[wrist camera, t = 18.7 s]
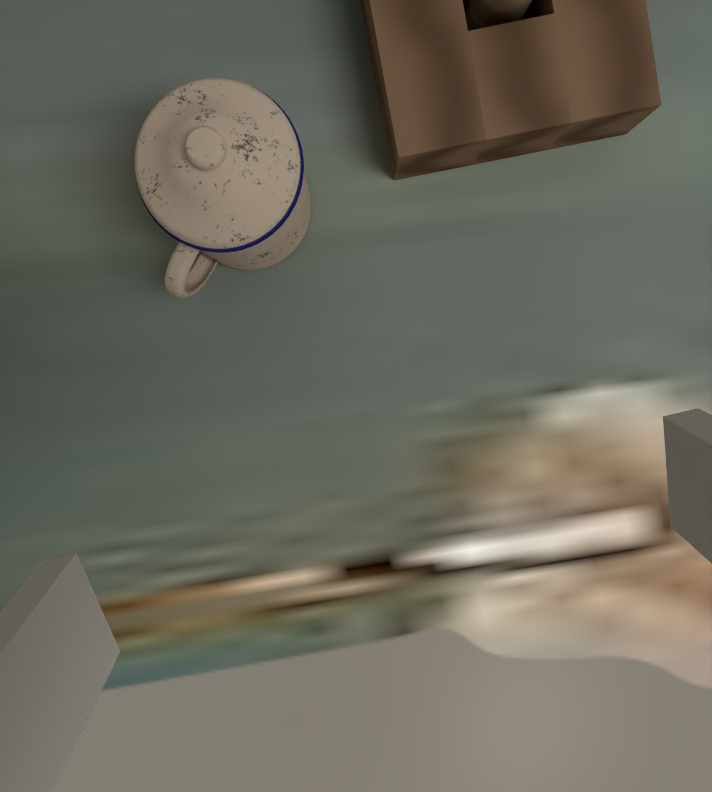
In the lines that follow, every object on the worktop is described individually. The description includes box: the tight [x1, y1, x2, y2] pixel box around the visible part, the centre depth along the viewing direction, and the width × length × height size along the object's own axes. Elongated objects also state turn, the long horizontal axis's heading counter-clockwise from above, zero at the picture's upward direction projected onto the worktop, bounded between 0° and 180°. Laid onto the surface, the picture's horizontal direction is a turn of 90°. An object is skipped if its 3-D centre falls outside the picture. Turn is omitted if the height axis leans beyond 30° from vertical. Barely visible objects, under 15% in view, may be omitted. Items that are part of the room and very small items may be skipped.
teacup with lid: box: [134, 78, 311, 298], centre depth 33 cm, size 12×9×12 cm
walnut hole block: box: [361, 0, 661, 180], centre depth 36 cm, size 16×18×4 cm
